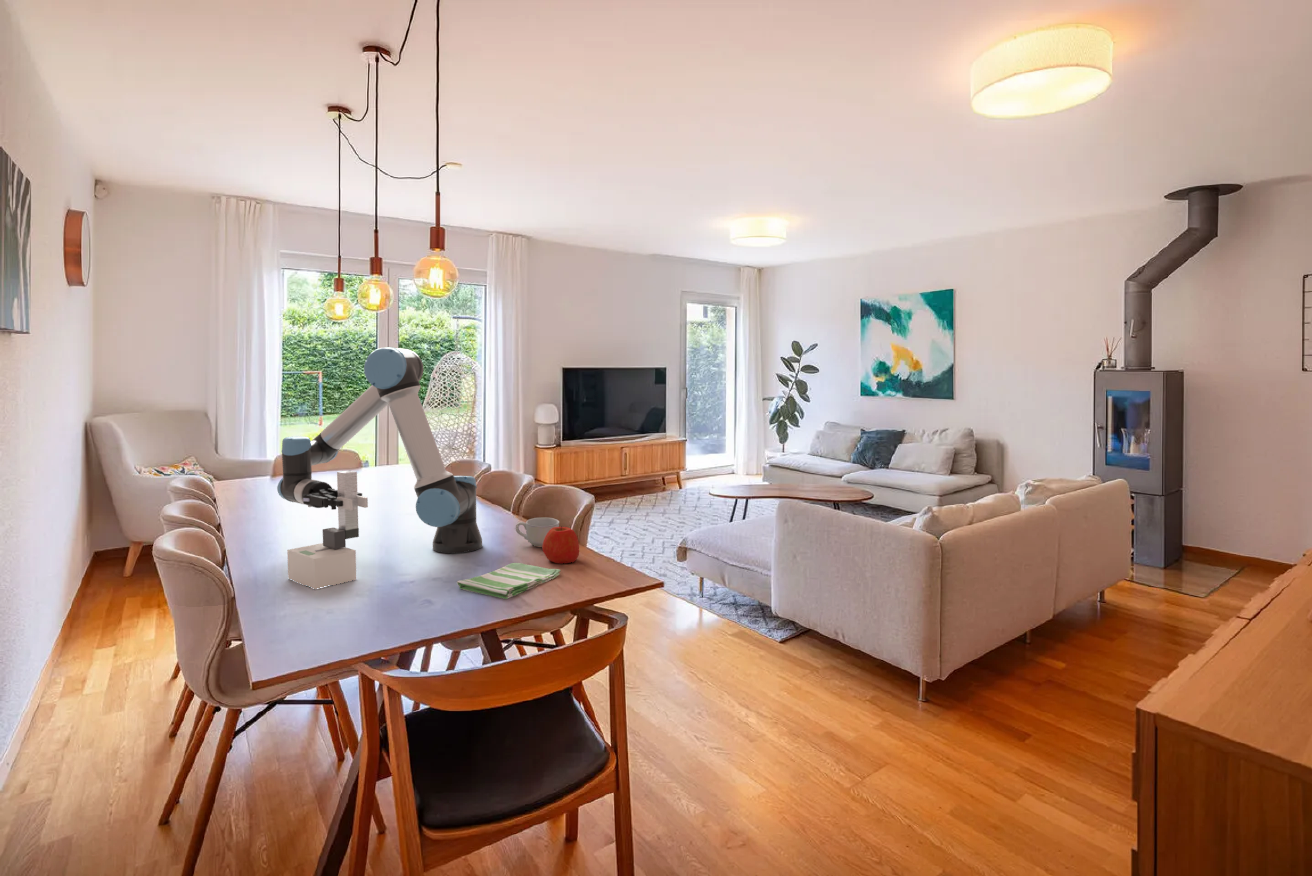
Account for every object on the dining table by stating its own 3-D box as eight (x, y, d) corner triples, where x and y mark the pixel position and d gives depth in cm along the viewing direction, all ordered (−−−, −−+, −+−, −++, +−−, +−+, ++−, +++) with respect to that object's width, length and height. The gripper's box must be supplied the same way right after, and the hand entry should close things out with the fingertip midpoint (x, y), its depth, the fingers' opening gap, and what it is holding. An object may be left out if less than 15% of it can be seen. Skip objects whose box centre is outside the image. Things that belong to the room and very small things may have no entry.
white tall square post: (351, 534, 188) (349, 470, 186) (358, 536, 185) (357, 471, 184) (338, 537, 185) (336, 471, 183) (345, 539, 182) (344, 473, 181)
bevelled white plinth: (328, 570, 188) (328, 541, 188) (356, 579, 180) (355, 550, 179) (288, 579, 179) (287, 549, 179) (315, 589, 171) (314, 558, 170)
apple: (535, 563, 199) (535, 527, 198) (557, 554, 208) (557, 520, 207) (565, 568, 194) (565, 532, 193) (586, 559, 203) (586, 524, 202)
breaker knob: (333, 543, 185) (333, 527, 184) (345, 547, 181) (345, 530, 181) (323, 545, 182) (322, 529, 182) (334, 549, 179) (334, 532, 178)
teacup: (562, 541, 224) (562, 518, 224) (554, 550, 214) (554, 525, 213) (521, 540, 226) (521, 516, 225) (511, 548, 215) (511, 523, 214)
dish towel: (562, 577, 187) (562, 567, 187) (508, 602, 166) (508, 591, 166) (511, 568, 195) (511, 558, 195) (453, 590, 174) (453, 580, 174)
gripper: (342, 502, 202) (387, 512, 188) (284, 510, 188) (328, 522, 175) (342, 477, 201) (386, 486, 187) (284, 484, 188) (327, 494, 174)
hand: (358, 503), depth 181 cm, fingers closed on white tall square post, 4 cm apart
